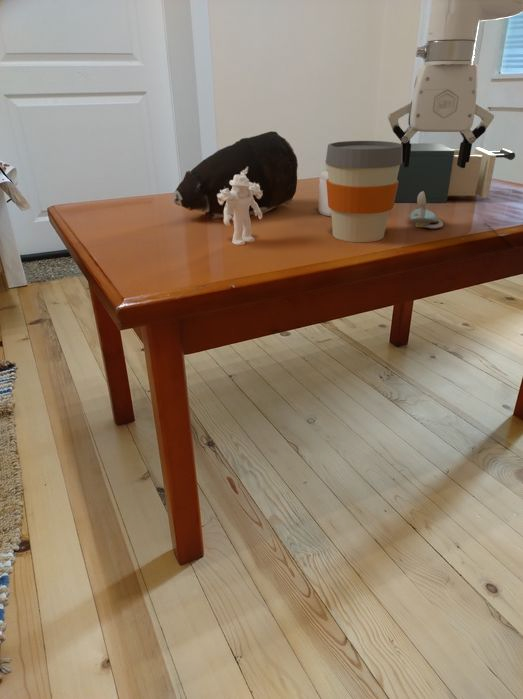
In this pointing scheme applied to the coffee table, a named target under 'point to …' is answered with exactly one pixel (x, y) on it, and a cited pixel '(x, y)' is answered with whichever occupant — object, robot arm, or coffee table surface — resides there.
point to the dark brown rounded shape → (218, 169)
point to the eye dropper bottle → (323, 193)
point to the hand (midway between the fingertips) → (432, 166)
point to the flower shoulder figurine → (240, 206)
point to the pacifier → (424, 214)
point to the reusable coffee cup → (362, 187)
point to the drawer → (475, 172)
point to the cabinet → (425, 174)
